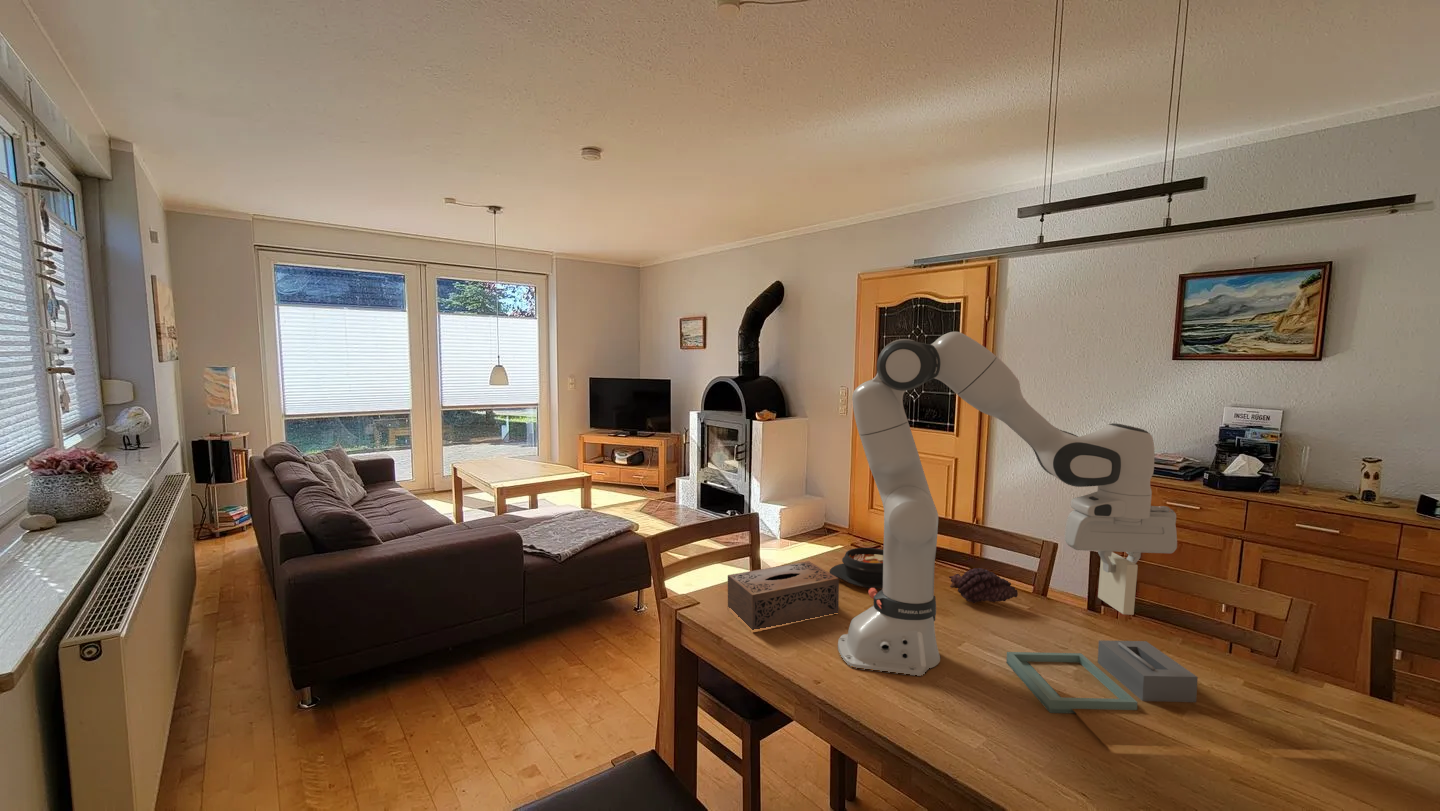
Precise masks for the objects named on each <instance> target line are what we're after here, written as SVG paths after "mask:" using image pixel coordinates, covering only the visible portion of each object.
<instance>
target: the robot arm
mask: <svg viewBox="0 0 1440 811" xmlns="http://www.w3.org/2000/svg"><path fill="white" fill-rule="evenodd" d="M876 369H877V370H876V375H875V376H874V377H873V378H871V379H869V380H866V381H865V382H863V383H860V384H859V385H858V386H857V387H856V388H855V389H854V391H853V392H852V395H851V396H852V397H851V398H852V399H851V400H852V410H853V416H854V421H855V424H856V429H857V433H858V435H859V436H858V437H859V438H860V440H861V445H862V448H863V451H864V454H865V457H866V460H867V464H868V467H869V469H870V471H871V475H872V476H873V479H874V482H875V486H876V488H877V490H878V493H879V496H880V499H881V503H882V506H883V507H882V508H883V549H882V550H883V588H881V590H879V591H878V589H875V588H869V589H868V592H867V593H868V595H869V597H870V598H871V600H872V599H873V605H871V606H870V607H869V608H867V609H866V610H864V611H863V612H861V613H859V614H857V615H856V616H855V617H853V618H852V619H851V621H850V624H849V626H848V631H847V633H846V634H842V635H841V636H840V637H839V638H838V640H837V641H838V642H837V650H838V652H839V653H840V654H839V653H838V654H839V656H840V655H841V656H840V658H841V657H842V658H843V659H842V658H841V659H842V660H844V661H845V662H846V663H847V664H846V663H845V662H844V661H843V662H844V663H845V664H846V665H847V666H849V665H850V666H849V667H851V666H853V667H856V668H855V669H857V668H864V669H863V670H865V669H873V670H880V671H879V672H882V671H888V672H887V673H890V672H896V673H895V674H898V673H904V674H903V675H906V674H910V675H909V676H915V675H917V676H916V677H922V676H924V675H925V672H926V673H927V671H928V670H930V669H932V668H934V667H936V666H937V665H939V663H940V662H941V655H940V652H939V648H938V644H937V639H936V638H937V637H936V630H935V622H936V615H937V601H936V600H937V599H936V596H935V595H934V594H935V565H936V564H935V561H936V560H935V559H936V553H937V544H938V532H939V530H938V529H939V527H938V526H939V513H938V510H937V507H936V505H935V502H934V499H933V496H932V493H931V490H930V487H929V485H928V481H927V478H926V474H925V472H924V469H923V464H922V461H921V459H920V455H919V451H918V449H917V444H916V443H915V439H914V436H913V433H912V430H911V427H910V424H909V421H908V417H907V414H906V411H905V408H904V403H903V400H904V399H903V398H904V395H905V393H906V391H911V390H913V389H916V388H919V387H921V386H922V385H924V384H925V383H927V382H929V381H931V380H934V379H935V380H938V381H940V382H941V383H943V384H945V385H946V386H947V387H948V388H949V389H950V390H952V392H953V393H954V394H956V395H957V396H958V397H960V398H961V399H962V400H963V401H964V402H965V403H967V404H968V405H970V406H971V407H973V408H975V409H976V410H978V411H979V412H981V413H983V414H985V415H988V416H990V417H994V418H995V419H998V420H1000V421H1001V422H1002V423H1004V424H1005V425H1007V426H1008V427H1009V428H1010V429H1011V430H1013V432H1015V433H1016V435H1018V436H1019V437H1020V438H1022V440H1023V441H1025V442H1026V443H1027V444H1028V445H1029V447H1030V448H1032V450H1033V452H1034V455H1035V456H1036V459H1037V462H1038V464H1039V465H1040V467H1041V468H1042V469H1043V470H1044V471H1045V472H1046V473H1047V474H1050V475H1051V476H1053V477H1055V478H1056V479H1058V480H1059V481H1061V482H1062V483H1064V484H1066V485H1068V486H1071V487H1074V488H1075V487H1077V488H1084V487H1085V488H1086V487H1088V488H1089V487H1097V491H1094V492H1091V493H1088V494H1084V495H1081V496H1078V497H1073V498H1072V499H1071V500H1070V508H1072V509H1073V510H1072V511H1070V512H1069V513H1068V516H1067V519H1066V523H1065V529H1064V530H1065V531H1064V542H1065V543H1066V544H1067V545H1068V547H1070V548H1071V549H1073V550H1076V551H1083V552H1084V551H1091V552H1093V551H1095V552H1097V554H1098V555H1099V557H1100V560H1101V559H1102V561H1103V570H1104V571H1106V572H1116V570H1115V568H1116V564H1114V563H1112V562H1111V561H1110V559H1109V557H1108V556H1111V555H1112V552H1113V553H1116V552H1118V553H1119V552H1120V553H1126V554H1127V555H1128V556H1127V557H1126V559H1127V560H1129V561H1131V562H1132V563H1134V564H1136V565H1137V562H1138V561H1139V560H1140V559H1141V556H1142V555H1141V554H1142V553H1148V554H1150V553H1151V554H1173V553H1174V552H1175V551H1176V550H1177V548H1178V536H1177V527H1176V523H1177V513H1176V512H1175V511H1174V510H1173V509H1172V508H1170V507H1169V506H1164V505H1160V506H1157V505H1156V506H1155V505H1152V494H1153V491H1152V487H1151V479H1152V477H1153V475H1154V472H1155V471H1154V470H1155V444H1154V438H1153V436H1152V434H1150V432H1149V431H1147V430H1145V429H1143V428H1139V427H1135V426H1132V425H1127V424H1121V423H1114V422H1113V423H1107V425H1106V426H1104V427H1101V428H1100V429H1098V430H1095V431H1093V432H1090V433H1087V434H1084V435H1081V436H1078V435H1077V434H1074V433H1071V432H1068V431H1065V430H1062V429H1059V428H1058V427H1056V426H1054V425H1053V424H1051V423H1050V422H1049V421H1048V420H1047V419H1046V418H1045V417H1043V415H1041V413H1039V412H1038V410H1036V409H1034V408H1033V406H1031V405H1030V404H1029V403H1028V402H1027V400H1026V399H1025V398H1024V395H1023V394H1022V390H1021V383H1020V380H1019V379H1018V377H1017V376H1016V375H1015V373H1014V372H1013V371H1012V370H1011V369H1010V367H1009V366H1007V364H1006V363H1005V362H1004V361H1002V359H1000V358H999V357H998V356H996V355H995V354H994V353H993V352H992V351H990V349H988V348H987V347H986V346H984V345H982V344H981V343H980V342H978V341H976V340H975V339H973V338H972V337H970V336H968V335H967V334H964V333H963V332H961V331H950V332H947V333H945V334H943V335H941V336H939V337H938V338H937V339H935V341H934V342H932V343H930V344H929V343H925V342H919V341H916V340H913V339H909V338H900V339H896V340H892V341H890V342H889V343H888V344H887V345H885V346H884V347H883V348H882V350H880V353H879V355H878V359H877V362H876ZM929 668H930V669H929ZM873 670H872V671H873ZM923 674H924V675H923ZM921 675H922V676H921Z"/></svg>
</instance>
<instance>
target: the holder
mask: <svg viewBox="0 0 1440 811" xmlns="http://www.w3.org/2000/svg"><path fill="white" fill-rule="evenodd" d="M1097 647H1098V648H1097V649H1098V650H1097V664H1098V665H1100V666H1101V667H1102V668H1103V669H1104V670H1106V671H1107V673H1109V674H1110V675H1111V676H1113V677H1114V678H1115V679H1116V680H1117V681H1119V683H1121V684H1122V685H1123V686H1124V687H1125V688H1127V690H1129V691H1130V692H1131V693H1132V694H1133V695H1135V696H1136V697H1137V698H1138V699H1139V700H1140V701H1142V702H1167V703H1168V702H1169V703H1170V702H1175V703H1197V695H1198V694H1197V693H1198V692H1197V691H1198V678H1199V677H1198V676H1197V675H1196V674H1194V673H1193V672H1191V671H1190V670H1188V669H1187V668H1185V667H1184V666H1183V665H1181V664H1179V663H1178V662H1177V661H1176V660H1174V659H1172V658H1171V657H1169V656H1168V655H1167V654H1165V653H1164V652H1162V651H1161V650H1160V649H1158V648H1157V647H1155V646H1154V645H1152V644H1151V643H1149V642H1148V641H1146V640H1145V641H1144V640H1098V646H1097Z"/></svg>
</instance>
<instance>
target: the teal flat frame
mask: <svg viewBox="0 0 1440 811" xmlns="http://www.w3.org/2000/svg"><path fill="white" fill-rule="evenodd" d="M1005 662H1006V664H1007V665H1008V666H1009V668H1010V669H1011V670H1012V671H1013V672H1014V673H1015V674H1016V676H1017V677H1018V678H1019V679H1020V680H1021V681H1022V683H1023V684H1024V685H1025V686H1026V687H1027V688H1028V690H1029V691H1030V692H1031V691H1032V692H1031V693H1032V694H1033V695H1034V697H1035V698H1036V699H1037V700H1038V701H1039V702H1040V704H1041V705H1042V706H1043V707H1044V706H1045V707H1044V708H1045V710H1047V711H1048V712H1049V713H1050V714H1076V711H1075V710H1074V709H1077V710H1080V709H1081V710H1117V711H1120V710H1122V711H1137V710H1138V701H1137V700H1136V699H1134V698H1133V697H1132V696H1131V695H1130V694H1129V693H1128V692H1127V691H1125V689H1123V688H1122V687H1121V686H1120V685H1118V684H1117V683H1116V682H1115V681H1114V680H1113V679H1112V678H1110V677H1109V676H1108V675H1107V674H1106V673H1105V672H1103V671H1102V670H1101V669H1100V668H1099V667H1098V666H1096V665H1095V664H1094V663H1093V662H1092V661H1091V660H1090V659H1089V658H1087V657H1086V656H1085V655H1084V654H1082V652H1081V653H1080V652H1039V651H1038V652H1037V651H1036V652H1034V651H1033V652H1030V651H1029V652H1028V651H1027V652H1026V651H1006V661H1005ZM1030 662H1037V663H1038V662H1040V663H1041V662H1042V663H1043V662H1044V663H1045V662H1046V663H1049V662H1050V663H1078V664H1080V665H1081V666H1082V667H1083V668H1085V670H1086V671H1087V672H1089V673H1090V674H1091V675H1093V676H1094V678H1096V679H1097V680H1098V681H1099V682H1100V683H1102V685H1103V686H1104V687H1106V688H1107V689H1108V691H1110V692H1111V693H1112V694H1113V695H1114V696H1116V697H1117V698H1107V697H1105V698H1104V697H1102V698H1099V697H1096V698H1095V697H1064V696H1063V697H1062V696H1060V695H1059V693H1058V692H1057V691H1056V690H1055V689H1054V688H1053V687H1052V686H1051V685H1050V683H1048V682H1047V681H1046V679H1044V678H1043V677H1042V675H1041V674H1040V673H1039V672H1038V671H1037V670H1036V669H1035V668H1034V667H1033V665H1031V663H1030Z"/></svg>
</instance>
